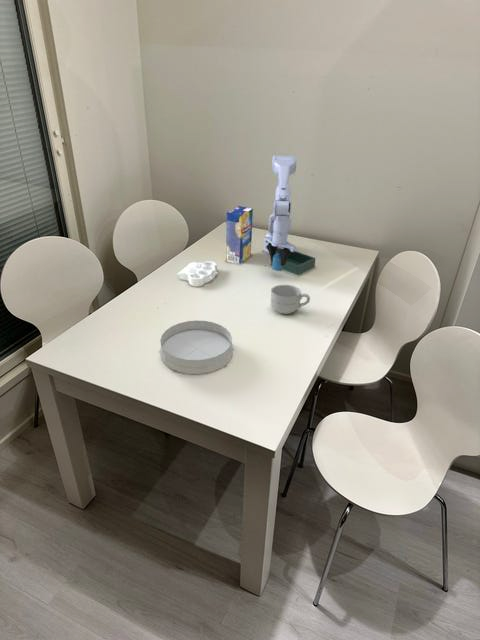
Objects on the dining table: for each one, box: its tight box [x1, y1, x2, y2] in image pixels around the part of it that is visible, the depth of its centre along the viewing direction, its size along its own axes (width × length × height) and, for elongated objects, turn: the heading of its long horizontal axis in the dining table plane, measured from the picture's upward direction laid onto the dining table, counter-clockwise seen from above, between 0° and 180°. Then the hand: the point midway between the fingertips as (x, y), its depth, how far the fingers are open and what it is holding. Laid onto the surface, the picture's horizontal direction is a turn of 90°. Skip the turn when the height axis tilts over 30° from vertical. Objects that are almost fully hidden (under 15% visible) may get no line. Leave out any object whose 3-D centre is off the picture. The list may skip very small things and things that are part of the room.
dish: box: [159, 320, 233, 375], centre depth 140 cm, size 22×22×5 cm
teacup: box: [270, 284, 311, 315], centre depth 163 cm, size 14×11×8 cm
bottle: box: [271, 248, 284, 272], centre depth 184 cm, size 5×5×8 cm
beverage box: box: [225, 205, 254, 264], centre depth 198 cm, size 7×11×22 cm, turn 153°
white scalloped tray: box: [177, 260, 219, 288], centre depth 186 cm, size 3×18×15 cm
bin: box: [270, 250, 317, 276], centre depth 197 cm, size 15×12×5 cm
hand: (278, 263), depth 185 cm, fingers closed on bottle, 4 cm apart
